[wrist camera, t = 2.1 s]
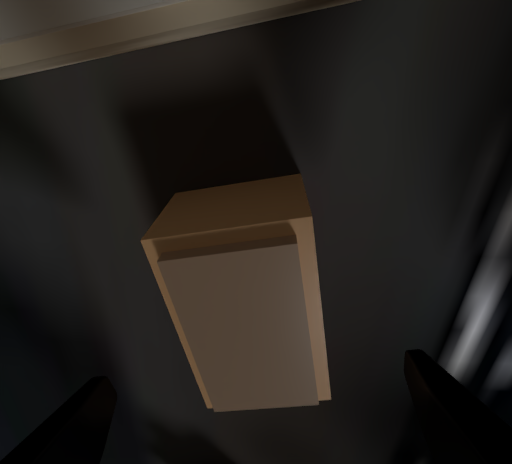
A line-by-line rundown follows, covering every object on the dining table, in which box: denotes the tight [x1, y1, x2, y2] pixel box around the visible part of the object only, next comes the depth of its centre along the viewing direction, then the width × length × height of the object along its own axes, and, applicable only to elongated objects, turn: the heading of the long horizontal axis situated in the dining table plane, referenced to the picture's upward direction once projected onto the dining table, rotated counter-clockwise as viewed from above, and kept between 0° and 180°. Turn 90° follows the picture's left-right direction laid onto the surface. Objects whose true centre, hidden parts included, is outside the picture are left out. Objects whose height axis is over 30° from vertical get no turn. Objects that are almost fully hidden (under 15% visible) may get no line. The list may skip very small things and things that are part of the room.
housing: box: [141, 174, 331, 412], centre depth 12 cm, size 5×8×4 cm, turn 10°
